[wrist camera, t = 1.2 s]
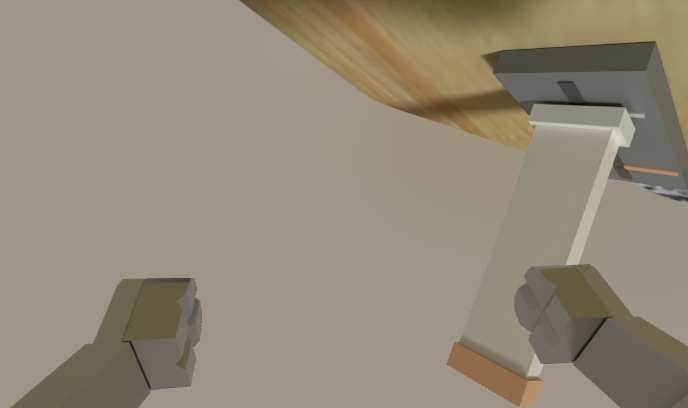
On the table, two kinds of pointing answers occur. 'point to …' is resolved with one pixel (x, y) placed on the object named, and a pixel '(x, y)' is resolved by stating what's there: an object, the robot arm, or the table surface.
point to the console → (608, 100)
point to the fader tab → (539, 238)
